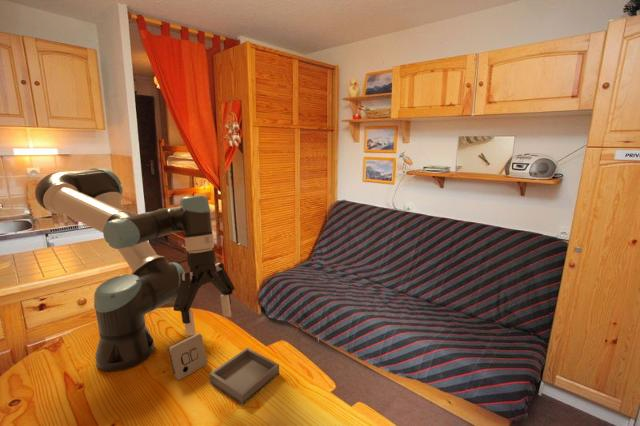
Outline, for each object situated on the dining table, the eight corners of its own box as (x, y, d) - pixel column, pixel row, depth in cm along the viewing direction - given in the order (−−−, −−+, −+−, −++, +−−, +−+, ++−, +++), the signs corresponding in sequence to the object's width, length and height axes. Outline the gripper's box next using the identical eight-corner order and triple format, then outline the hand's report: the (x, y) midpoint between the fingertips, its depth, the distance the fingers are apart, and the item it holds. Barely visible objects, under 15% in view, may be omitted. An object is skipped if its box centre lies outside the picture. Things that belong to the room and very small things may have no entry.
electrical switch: (177, 382, 88) (173, 350, 86) (168, 375, 91) (163, 344, 90) (208, 364, 95) (204, 335, 94) (198, 358, 98) (195, 329, 97)
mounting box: (210, 383, 88) (209, 373, 87) (247, 356, 99) (247, 347, 98) (242, 405, 81) (242, 395, 80) (279, 373, 92) (279, 364, 91)
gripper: (171, 258, 80) (182, 344, 80) (240, 243, 102) (249, 310, 102) (152, 259, 83) (162, 342, 84) (222, 244, 105) (230, 309, 106)
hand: (210, 324), depth 93 cm, fingers open, 13 cm apart
